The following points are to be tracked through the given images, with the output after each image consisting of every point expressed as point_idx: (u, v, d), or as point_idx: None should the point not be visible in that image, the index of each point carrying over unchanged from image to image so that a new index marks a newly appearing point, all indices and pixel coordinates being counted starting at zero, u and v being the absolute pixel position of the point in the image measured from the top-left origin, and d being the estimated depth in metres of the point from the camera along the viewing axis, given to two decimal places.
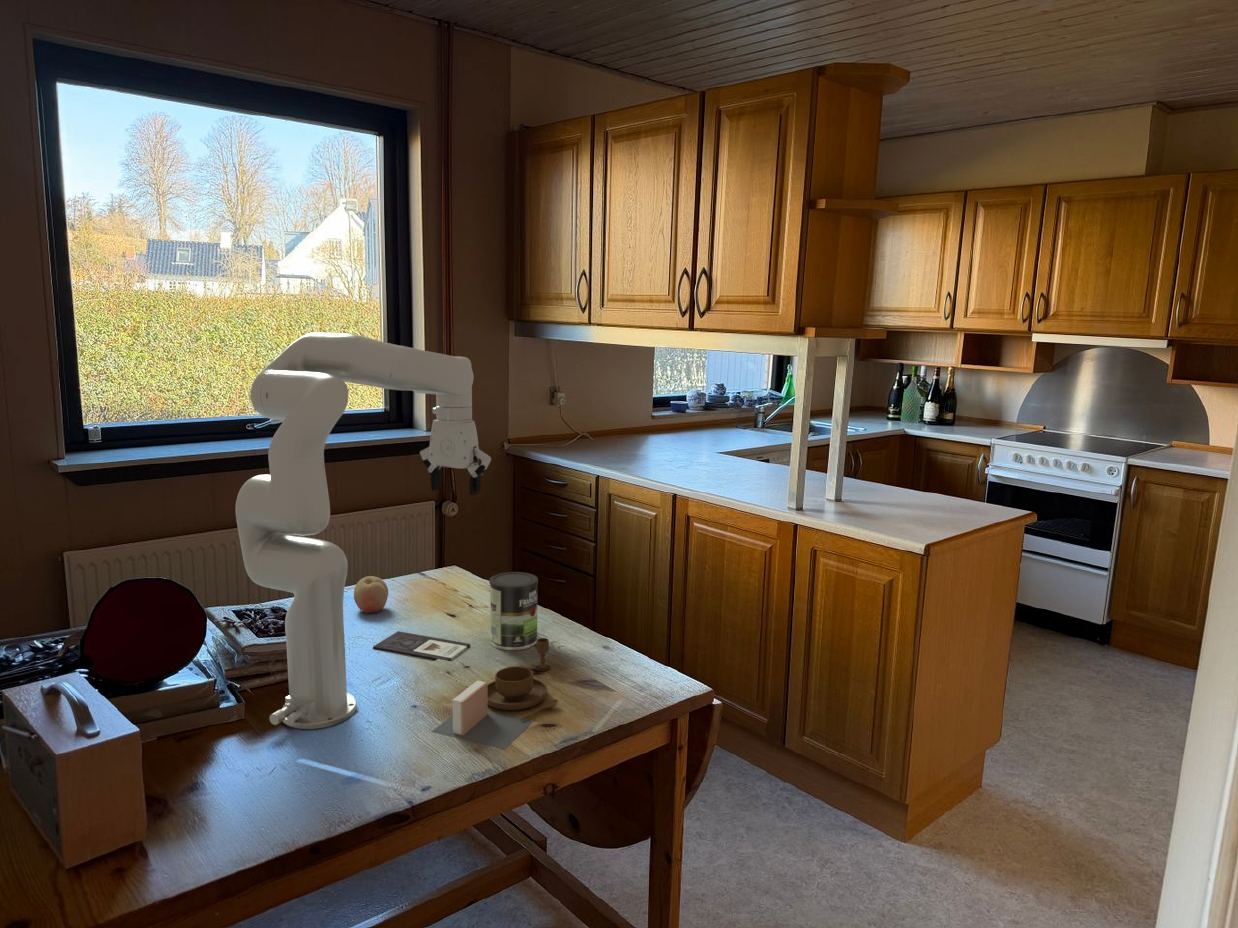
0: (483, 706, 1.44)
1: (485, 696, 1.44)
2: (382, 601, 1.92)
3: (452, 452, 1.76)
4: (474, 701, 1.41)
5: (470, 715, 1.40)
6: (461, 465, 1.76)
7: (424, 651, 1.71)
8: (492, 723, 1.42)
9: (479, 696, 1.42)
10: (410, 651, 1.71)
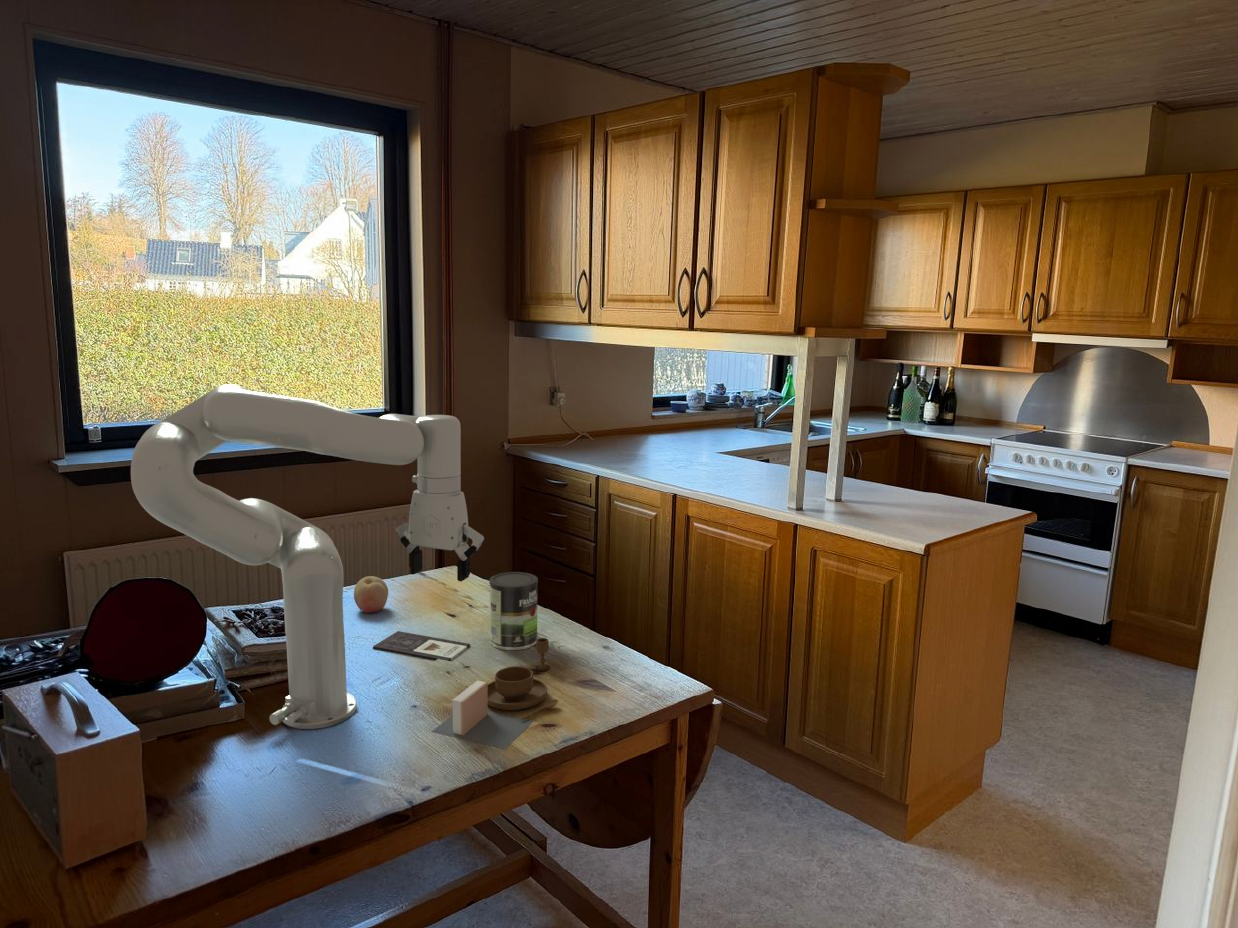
0: (483, 706, 1.44)
1: (485, 696, 1.44)
2: (382, 601, 1.92)
3: (437, 531, 1.46)
4: (474, 701, 1.41)
5: (470, 715, 1.40)
6: (448, 546, 1.46)
7: (424, 651, 1.71)
8: (492, 723, 1.42)
9: (479, 696, 1.42)
10: (410, 651, 1.71)
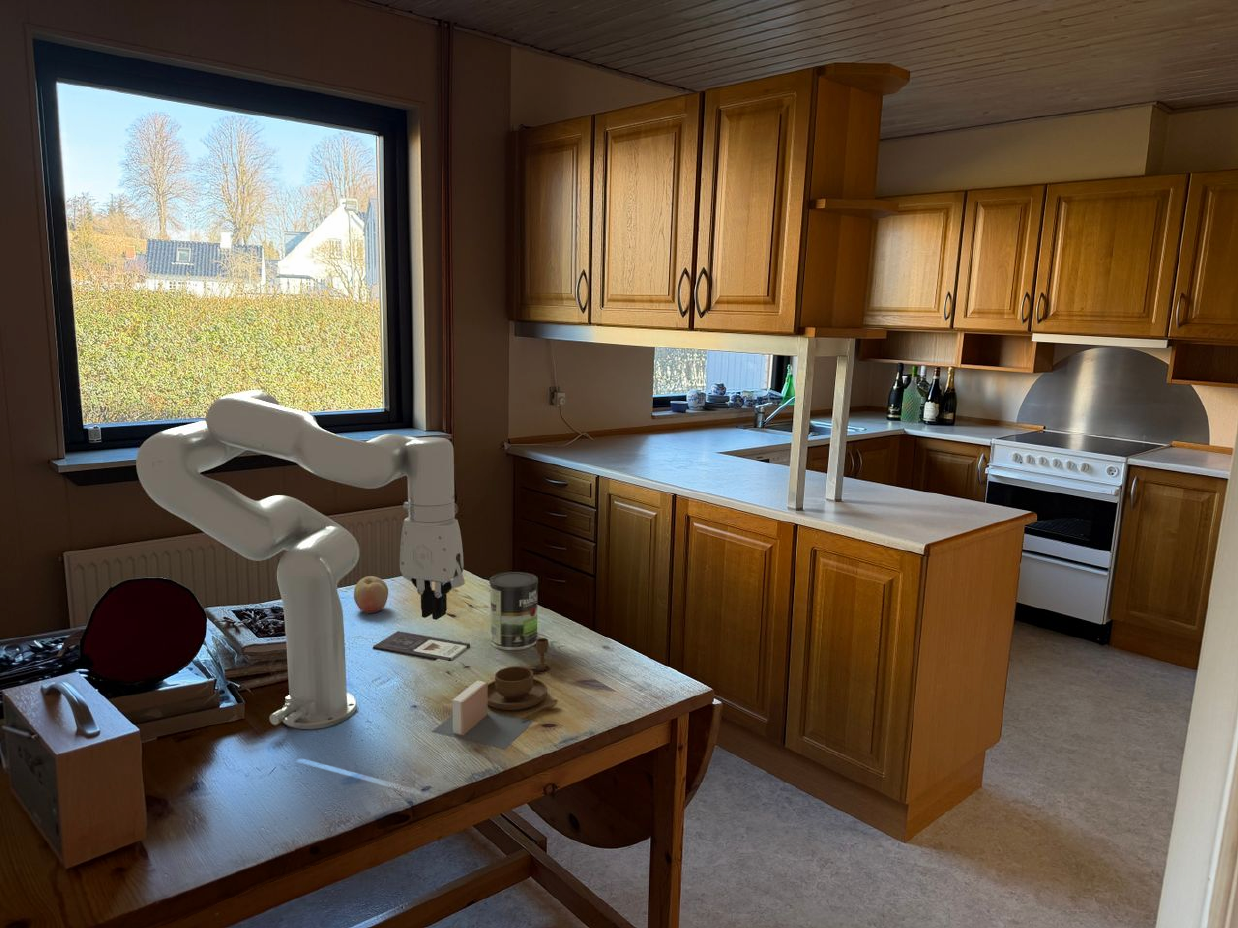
0: (483, 706, 1.44)
1: (485, 696, 1.44)
2: (382, 601, 1.92)
3: (428, 562, 1.36)
4: (474, 701, 1.41)
5: (470, 715, 1.40)
6: (440, 579, 1.36)
7: (424, 651, 1.71)
8: (492, 723, 1.42)
9: (479, 696, 1.42)
10: (410, 651, 1.71)
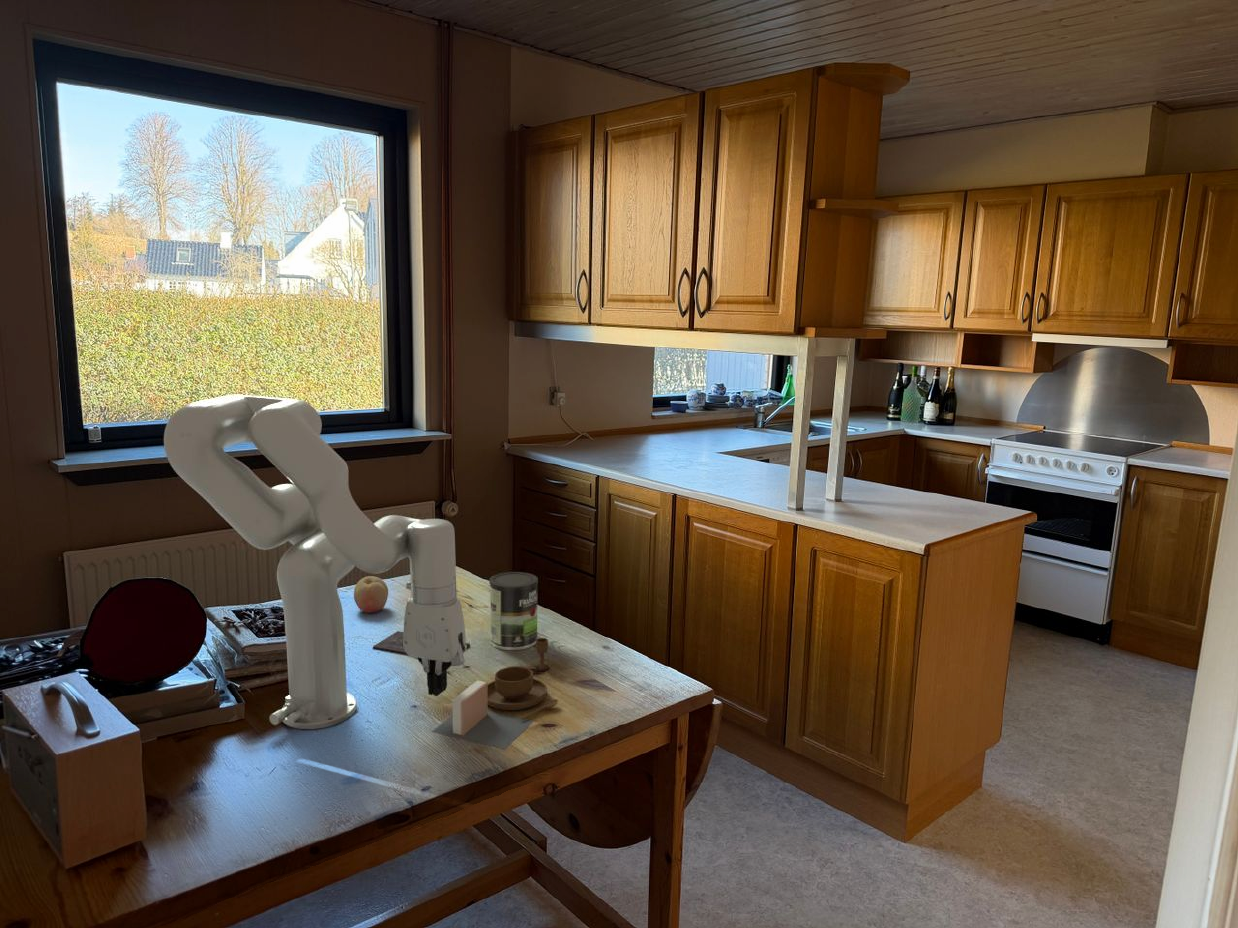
0: (483, 706, 1.44)
1: (485, 696, 1.44)
2: (382, 601, 1.92)
3: (431, 642, 1.39)
4: (474, 701, 1.41)
5: (470, 715, 1.40)
6: (443, 658, 1.39)
7: None
8: (492, 723, 1.42)
9: (479, 696, 1.42)
10: None
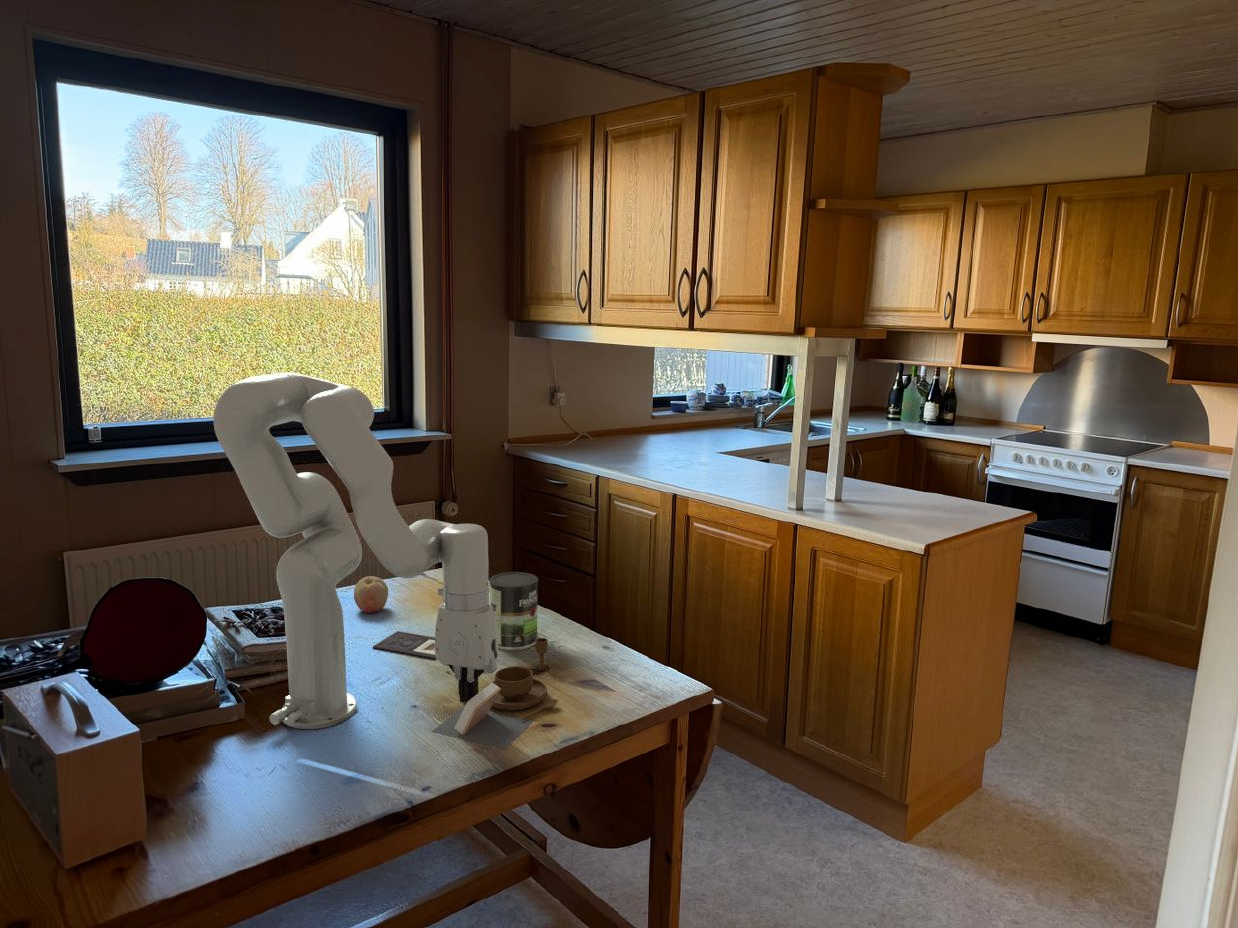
0: (488, 708, 1.44)
1: (493, 700, 1.44)
2: (382, 601, 1.92)
3: (464, 649, 1.37)
4: (484, 706, 1.40)
5: (476, 718, 1.40)
6: (476, 666, 1.36)
7: (424, 651, 1.72)
8: (492, 723, 1.42)
9: (489, 701, 1.42)
10: (410, 651, 1.71)
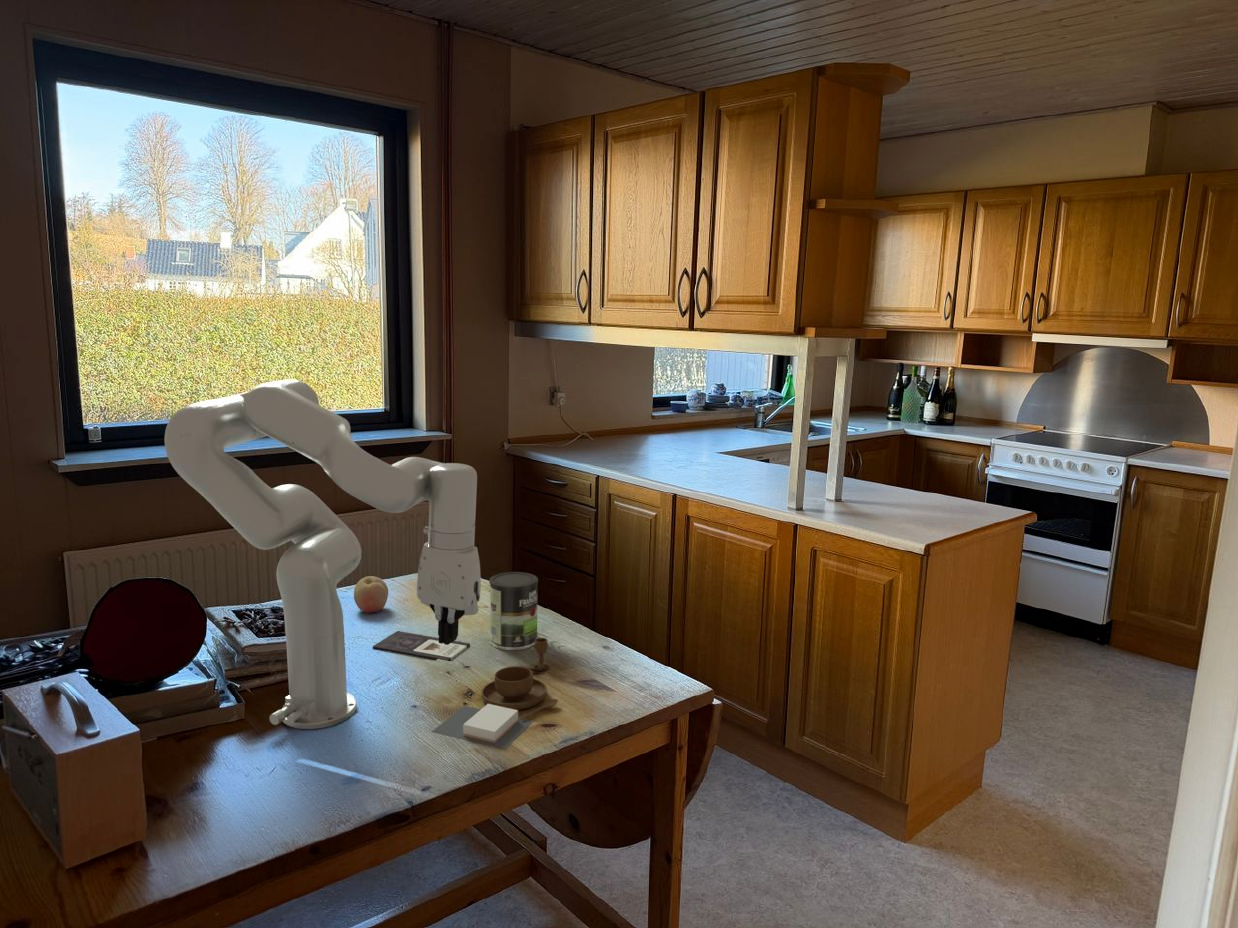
0: None
1: None
2: (382, 601, 1.92)
3: (446, 588, 1.36)
4: None
5: None
6: (457, 606, 1.36)
7: (424, 650, 1.72)
8: None
9: None
10: (410, 651, 1.71)
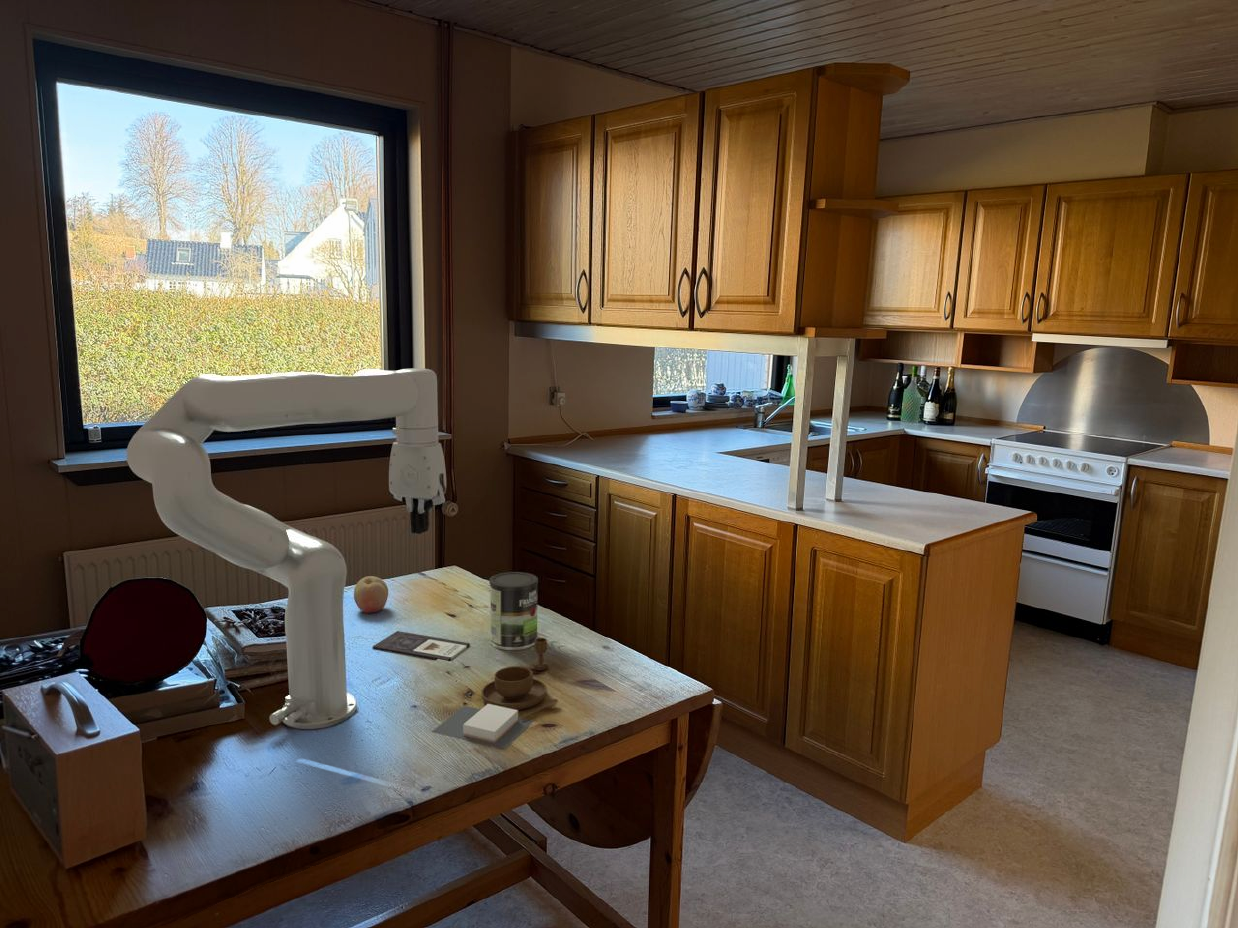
0: None
1: None
2: (382, 601, 1.92)
3: (414, 480, 1.51)
4: None
5: None
6: (425, 495, 1.51)
7: (424, 650, 1.72)
8: None
9: None
10: (410, 651, 1.71)
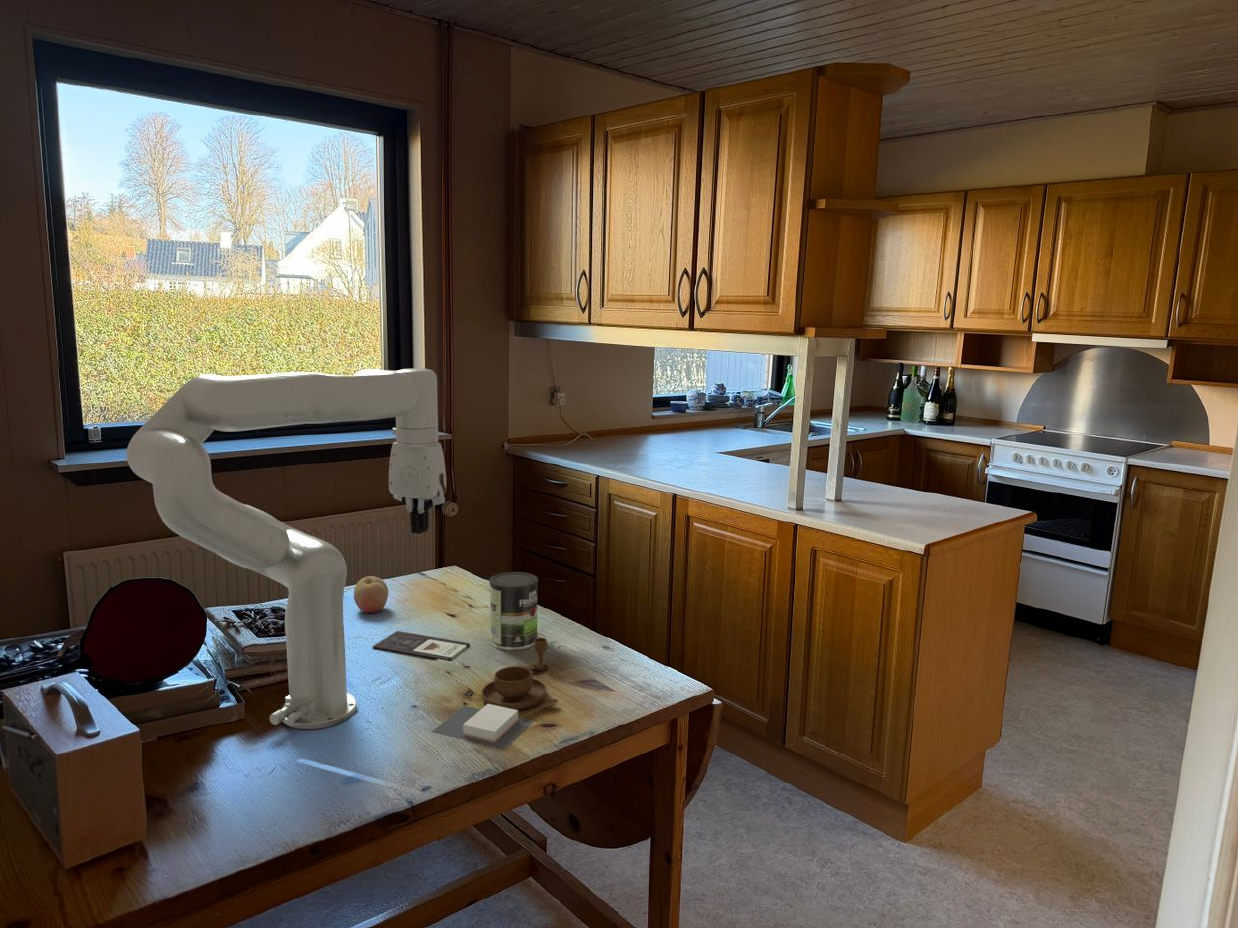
0: None
1: None
2: (382, 601, 1.92)
3: (414, 480, 1.51)
4: None
5: None
6: (425, 495, 1.51)
7: (424, 650, 1.72)
8: None
9: None
10: (410, 651, 1.71)
